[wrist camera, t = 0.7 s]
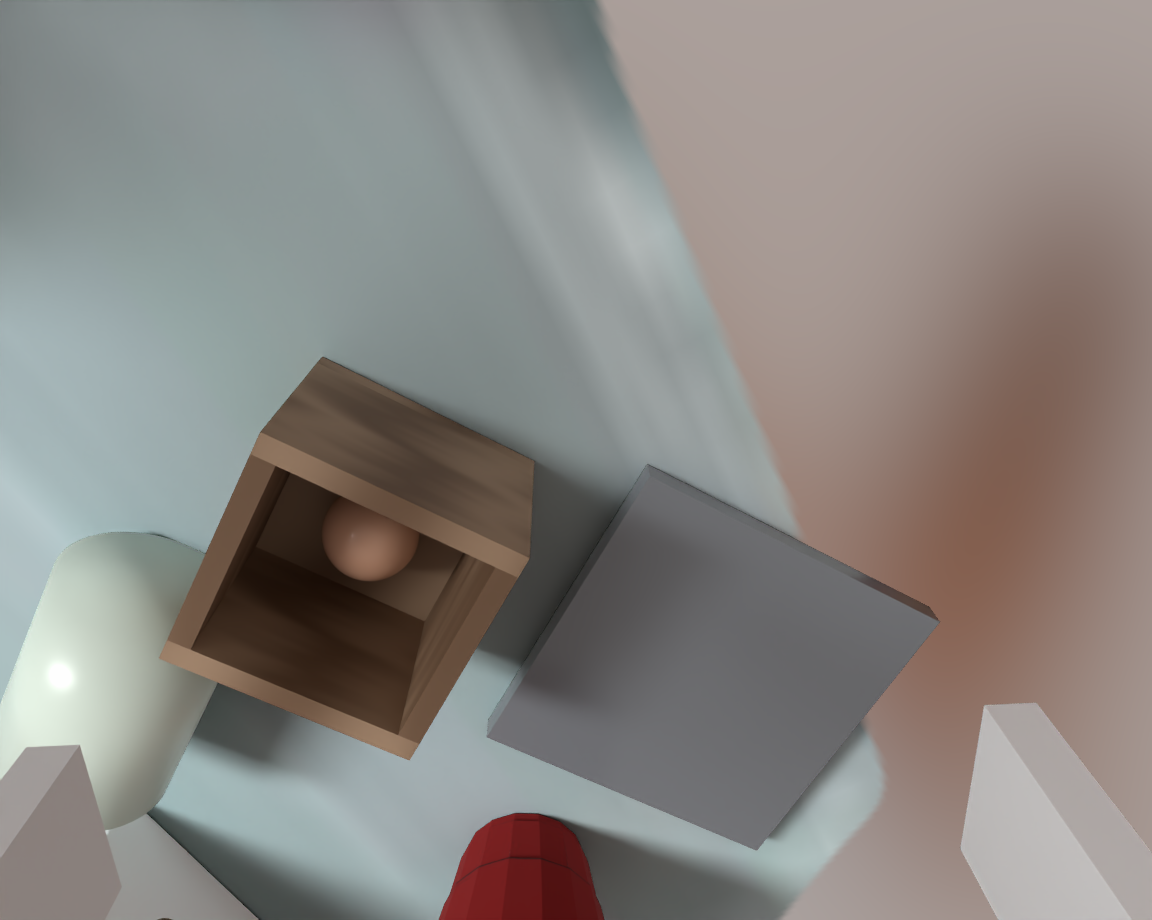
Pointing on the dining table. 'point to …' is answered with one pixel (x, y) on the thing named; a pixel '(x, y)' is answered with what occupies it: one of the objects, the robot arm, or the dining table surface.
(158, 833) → the gable box
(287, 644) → the walnut box
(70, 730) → the pale green capsule
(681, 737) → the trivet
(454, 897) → the plastic cup
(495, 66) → the dining table surface
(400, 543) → the clay ball
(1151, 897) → the robot arm
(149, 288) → the dining table surface
